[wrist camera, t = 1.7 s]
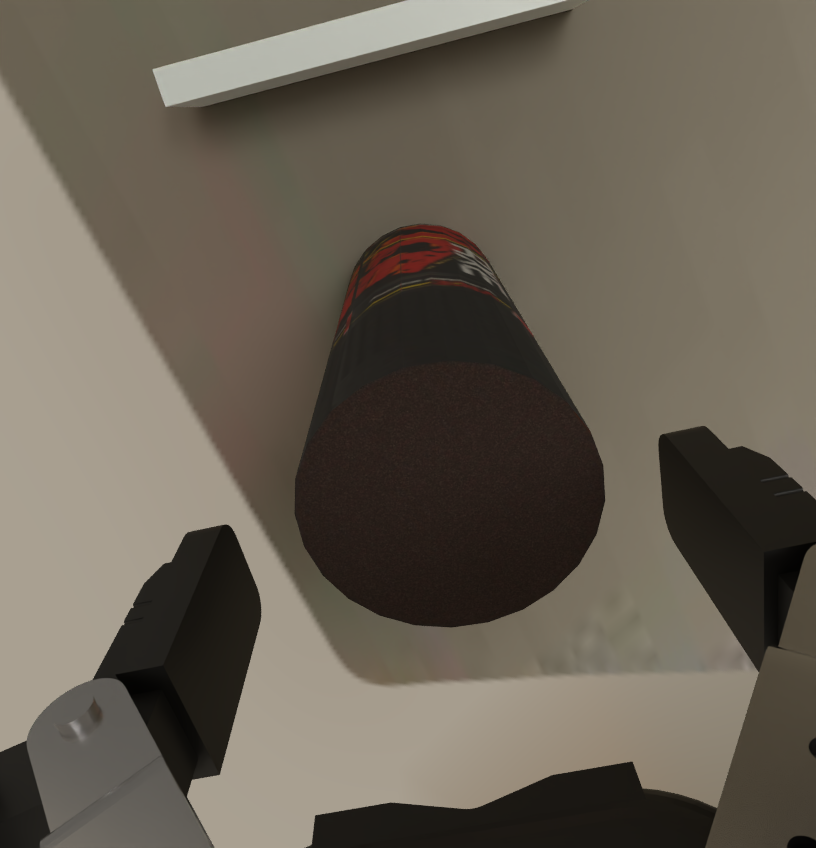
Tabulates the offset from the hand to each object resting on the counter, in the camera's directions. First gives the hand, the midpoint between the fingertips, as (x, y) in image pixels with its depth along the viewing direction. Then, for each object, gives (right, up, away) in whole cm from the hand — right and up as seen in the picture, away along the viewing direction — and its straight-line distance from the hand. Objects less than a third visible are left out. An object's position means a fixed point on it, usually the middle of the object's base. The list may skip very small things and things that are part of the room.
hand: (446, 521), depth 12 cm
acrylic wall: (-2, +15, +10) cm, 18 cm away
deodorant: (0, +7, +14) cm, 16 cm away
